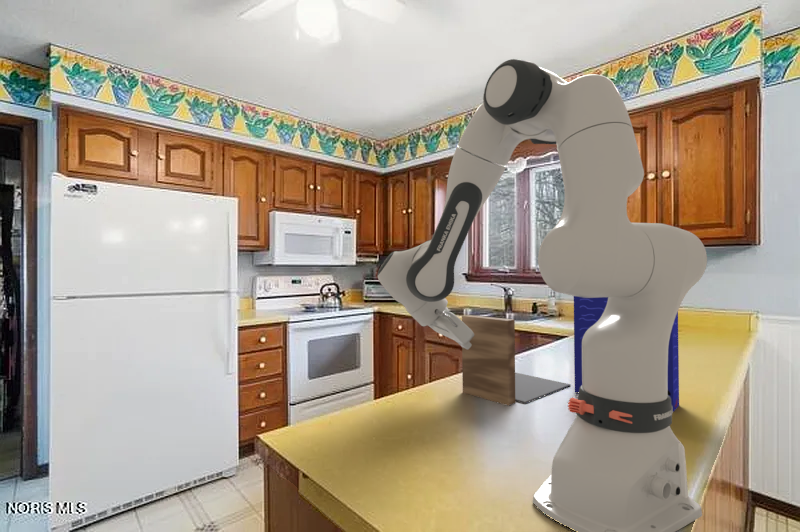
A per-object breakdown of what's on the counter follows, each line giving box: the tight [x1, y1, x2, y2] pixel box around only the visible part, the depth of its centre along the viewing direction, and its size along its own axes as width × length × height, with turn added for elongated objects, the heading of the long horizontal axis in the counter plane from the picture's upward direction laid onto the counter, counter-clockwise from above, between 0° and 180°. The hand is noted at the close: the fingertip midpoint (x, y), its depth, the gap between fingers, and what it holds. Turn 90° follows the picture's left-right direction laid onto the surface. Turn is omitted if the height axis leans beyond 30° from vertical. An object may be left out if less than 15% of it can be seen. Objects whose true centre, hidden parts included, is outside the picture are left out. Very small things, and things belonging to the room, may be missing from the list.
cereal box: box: [573, 296, 680, 413], centre depth 103 cm, size 22×6×30 cm, turn 46°
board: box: [461, 314, 516, 406], centre depth 104 cm, size 3×14×20 cm, turn 41°
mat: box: [515, 372, 571, 404], centre depth 113 cm, size 22×18×1 cm
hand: (467, 346), depth 103 cm, fingers closed
